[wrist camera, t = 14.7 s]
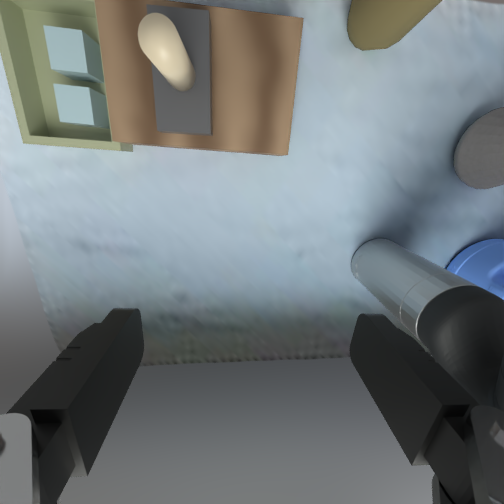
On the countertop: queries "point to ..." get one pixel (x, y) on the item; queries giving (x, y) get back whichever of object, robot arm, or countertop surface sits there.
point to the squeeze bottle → (384, 21)
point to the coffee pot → (482, 152)
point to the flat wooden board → (223, 78)
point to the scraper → (179, 67)
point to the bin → (47, 71)
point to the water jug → (482, 265)
